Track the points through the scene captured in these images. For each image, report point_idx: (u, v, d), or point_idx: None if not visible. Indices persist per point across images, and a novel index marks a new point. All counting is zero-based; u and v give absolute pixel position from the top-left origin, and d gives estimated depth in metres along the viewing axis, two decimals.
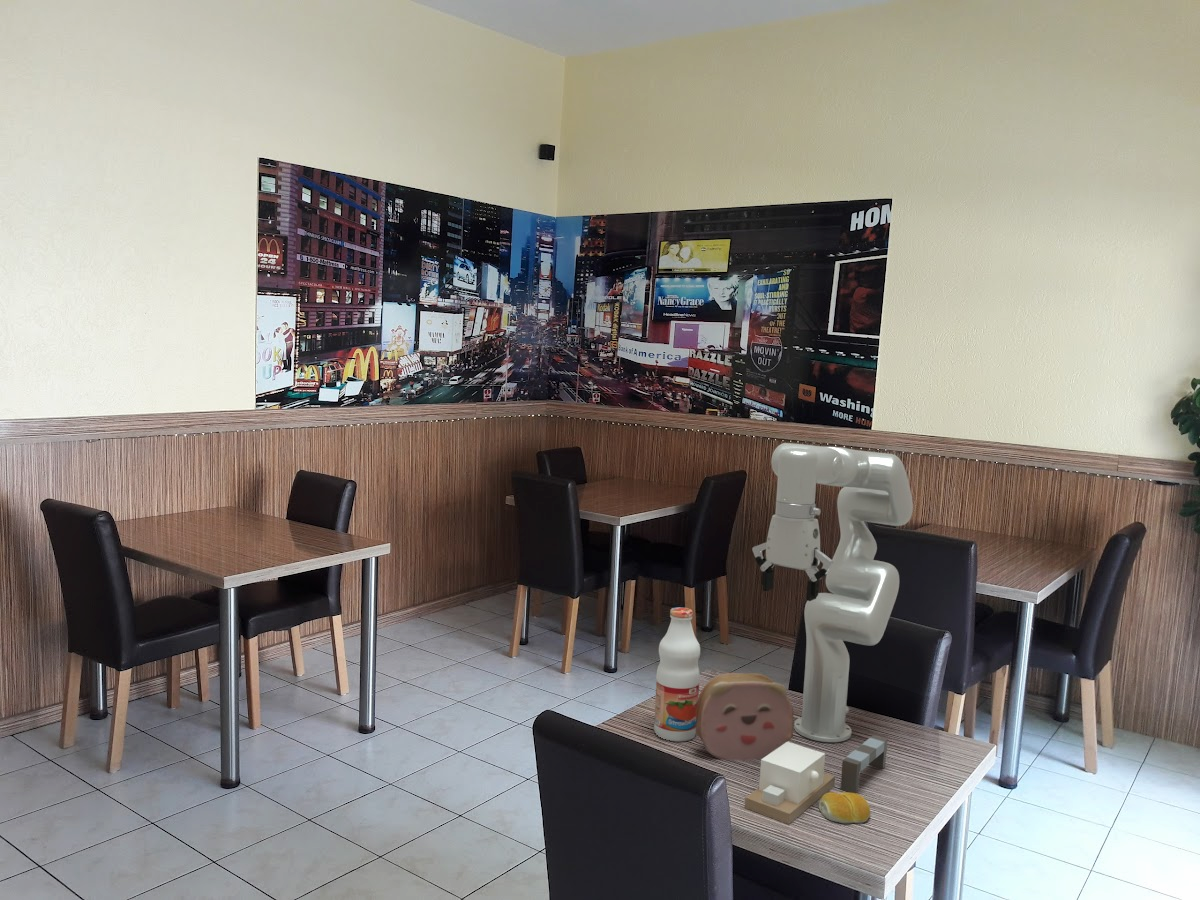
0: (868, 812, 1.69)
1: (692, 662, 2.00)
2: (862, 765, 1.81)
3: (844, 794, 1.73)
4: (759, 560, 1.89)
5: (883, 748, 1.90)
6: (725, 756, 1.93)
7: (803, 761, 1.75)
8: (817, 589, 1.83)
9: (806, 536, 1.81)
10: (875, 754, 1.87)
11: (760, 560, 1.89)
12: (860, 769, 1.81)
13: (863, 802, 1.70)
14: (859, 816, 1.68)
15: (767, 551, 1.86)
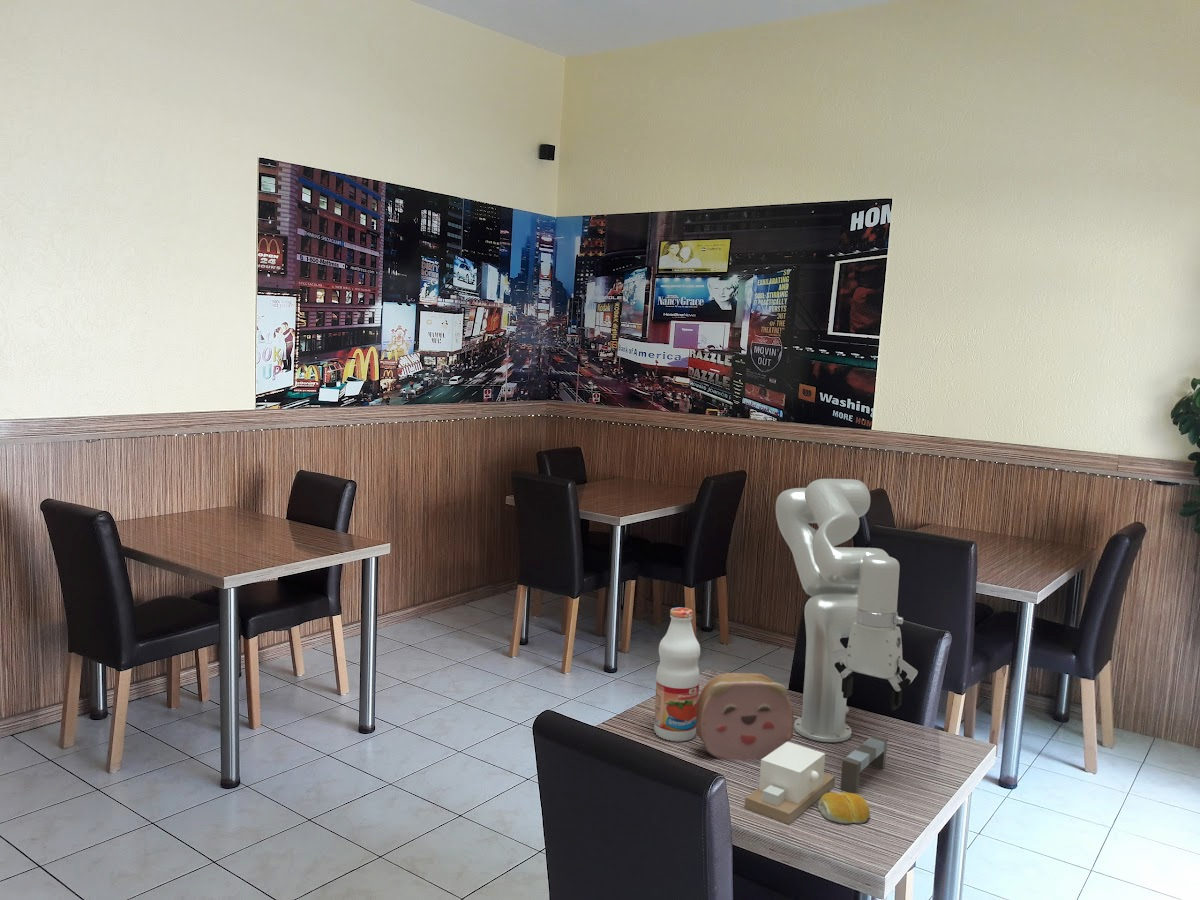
0: (867, 812, 1.69)
1: (692, 662, 2.00)
2: (862, 765, 1.81)
3: (844, 794, 1.73)
4: (838, 666, 1.88)
5: (883, 748, 1.90)
6: (725, 756, 1.93)
7: (803, 761, 1.75)
8: (900, 698, 1.81)
9: (890, 646, 1.80)
10: (875, 754, 1.87)
11: (839, 666, 1.88)
12: (860, 769, 1.81)
13: (862, 803, 1.70)
14: (858, 816, 1.68)
15: (848, 658, 1.85)
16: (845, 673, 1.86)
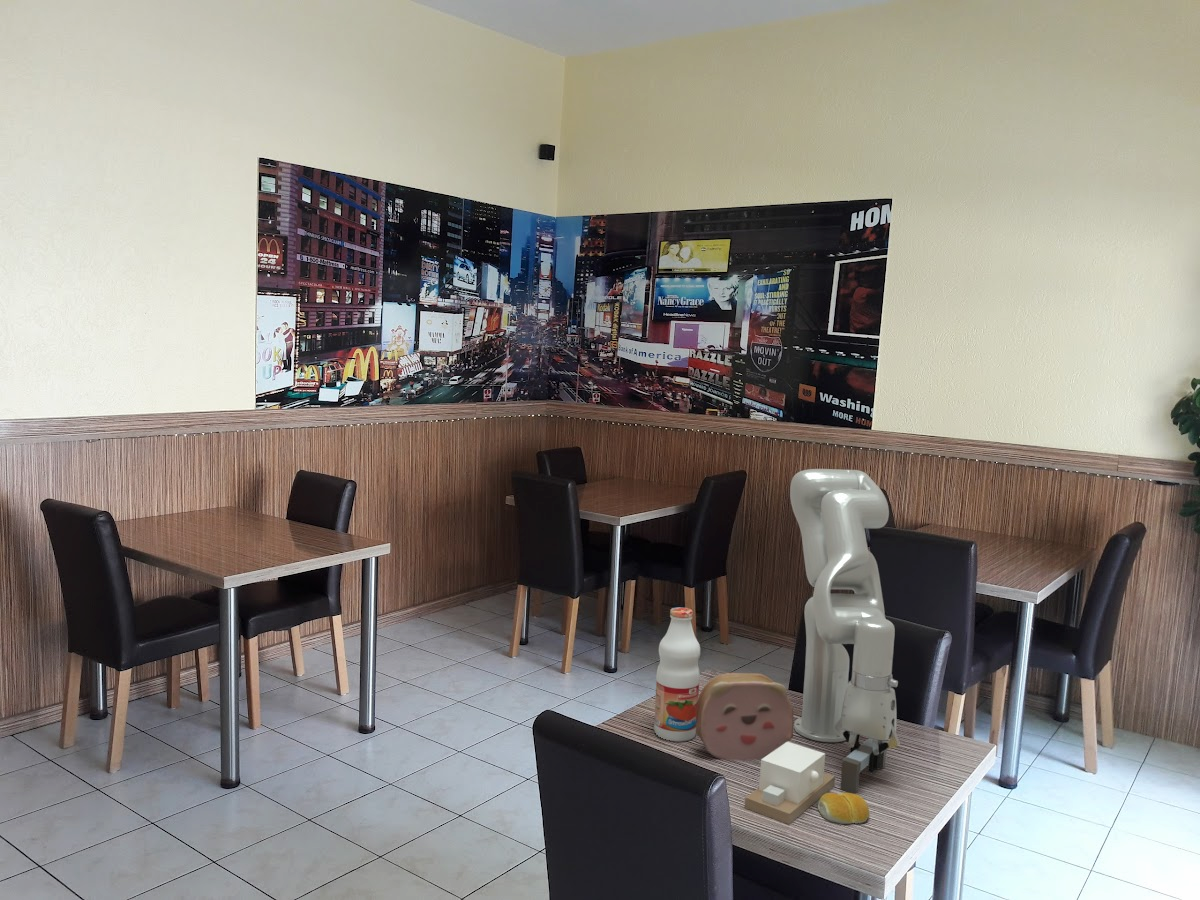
0: (867, 813, 1.69)
1: (692, 662, 2.00)
2: (862, 765, 1.81)
3: (843, 794, 1.73)
4: (847, 735, 1.88)
5: None
6: (725, 756, 1.93)
7: (803, 761, 1.75)
8: (879, 761, 1.85)
9: (884, 709, 1.81)
10: None
11: (848, 735, 1.88)
12: (860, 769, 1.81)
13: (862, 803, 1.70)
14: (858, 816, 1.68)
15: (842, 718, 1.87)
16: (853, 743, 1.86)
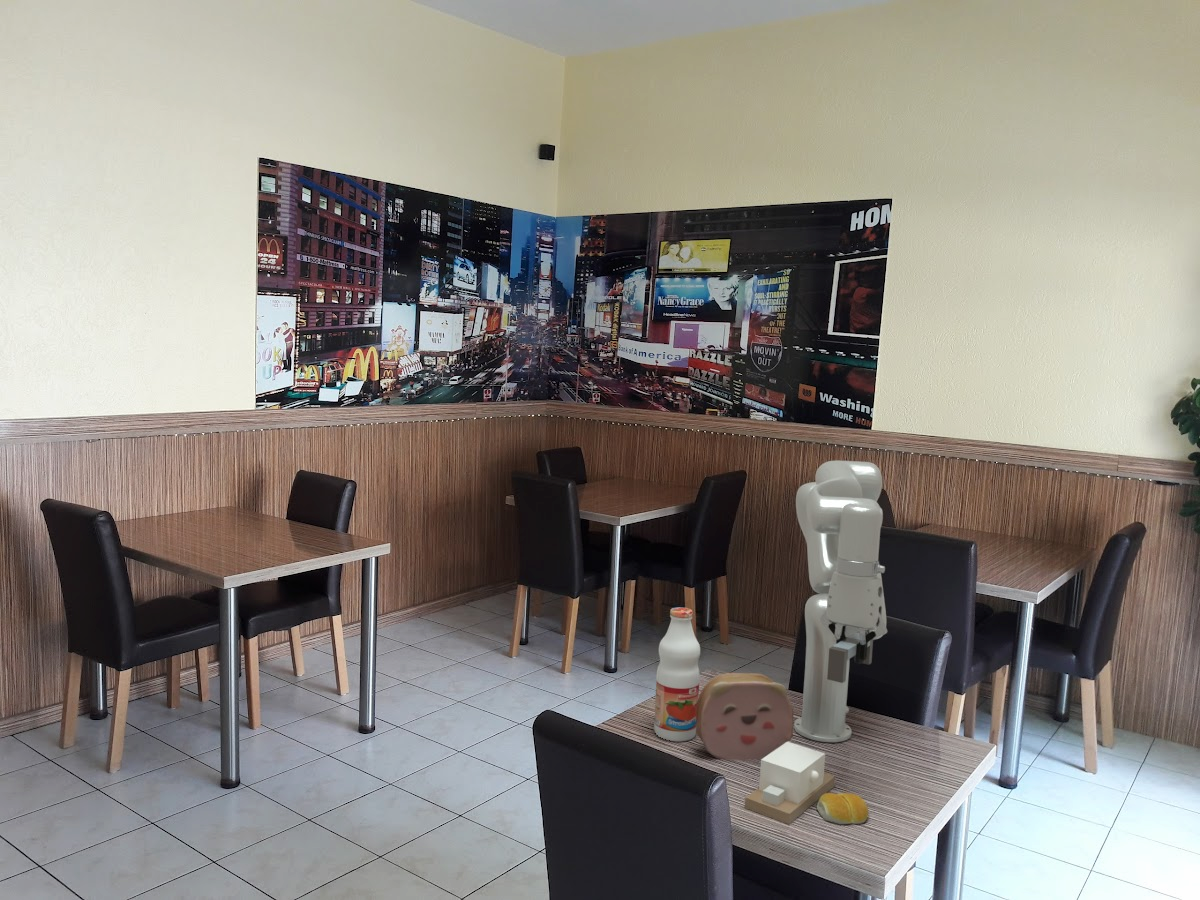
0: (866, 813, 1.69)
1: (692, 662, 2.00)
2: (849, 654, 1.76)
3: (842, 795, 1.73)
4: (833, 627, 1.82)
5: (869, 642, 1.85)
6: (725, 756, 1.93)
7: (803, 761, 1.75)
8: (866, 652, 1.79)
9: (871, 595, 1.76)
10: None
11: (834, 627, 1.82)
12: (847, 658, 1.75)
13: (861, 803, 1.70)
14: (857, 816, 1.68)
15: (828, 609, 1.81)
16: (839, 634, 1.80)
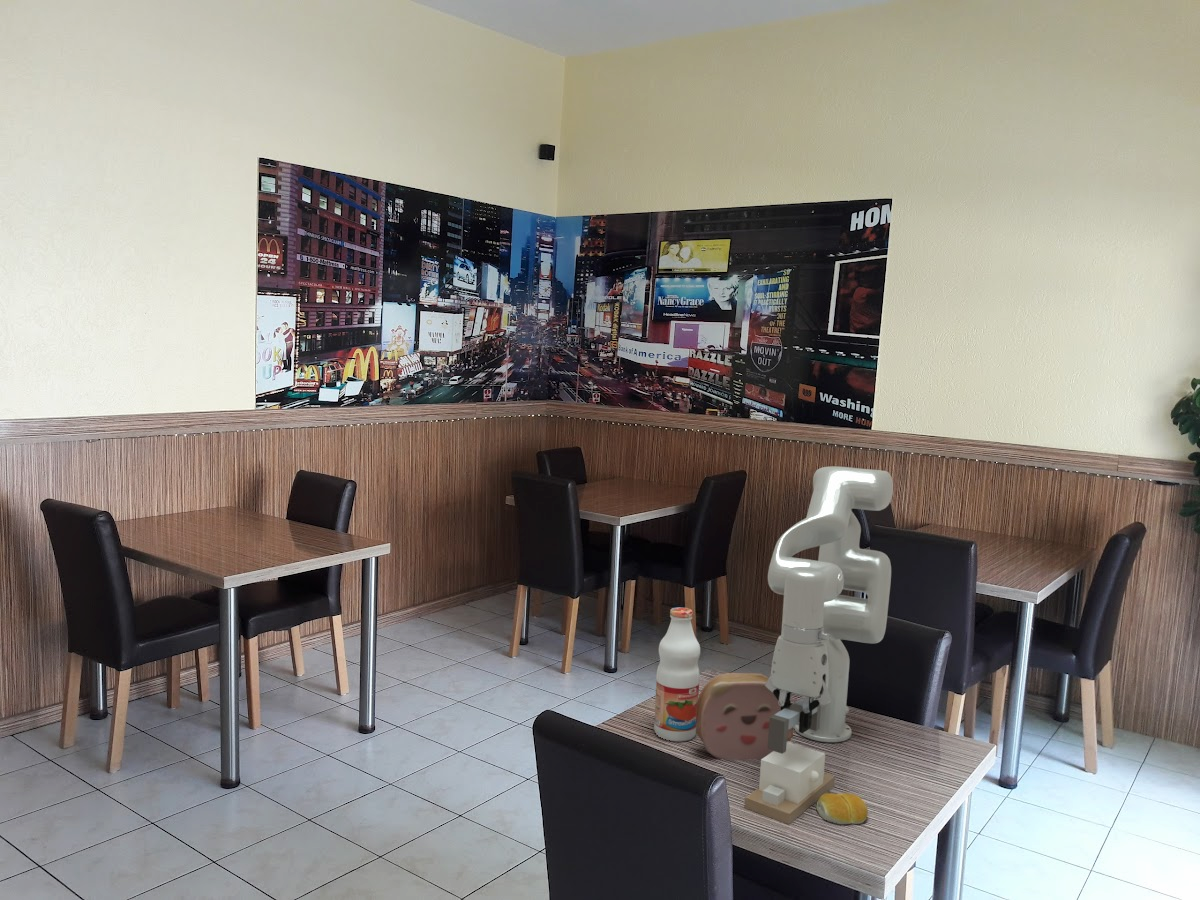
0: (866, 813, 1.69)
1: (692, 662, 2.00)
2: (791, 723, 1.71)
3: (842, 795, 1.73)
4: (777, 693, 1.77)
5: (816, 708, 1.79)
6: (725, 756, 1.93)
7: (803, 761, 1.75)
8: (810, 720, 1.74)
9: (814, 663, 1.71)
10: None
11: (778, 693, 1.77)
12: (787, 728, 1.70)
13: (860, 803, 1.70)
14: (856, 817, 1.68)
15: (772, 675, 1.76)
16: (784, 701, 1.76)
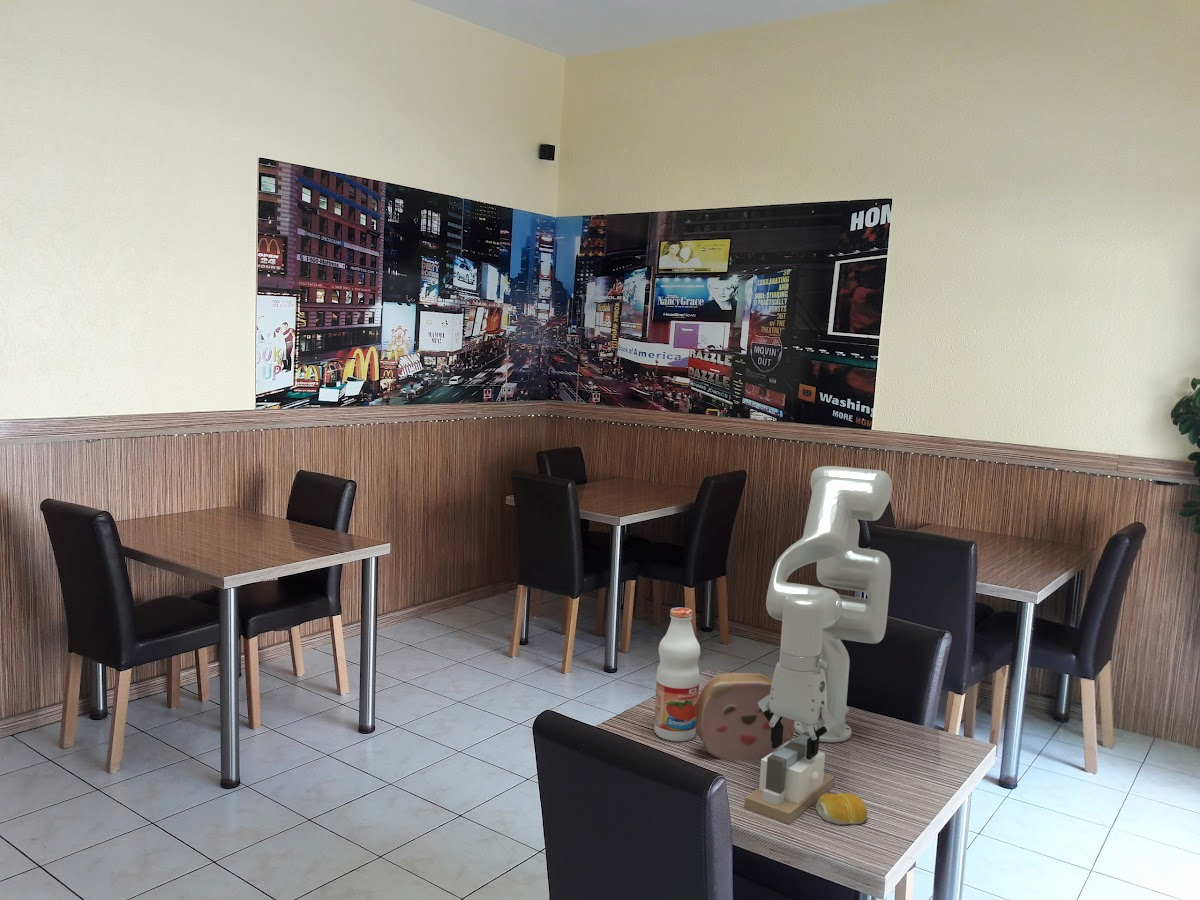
0: (865, 813, 1.69)
1: (692, 662, 2.00)
2: (788, 763, 1.72)
3: (841, 795, 1.73)
4: (768, 714, 1.79)
5: None
6: (725, 756, 1.93)
7: (803, 761, 1.75)
8: (817, 747, 1.74)
9: (813, 691, 1.71)
10: (804, 751, 1.77)
11: (769, 715, 1.79)
12: (785, 768, 1.71)
13: (860, 804, 1.70)
14: (856, 817, 1.68)
15: (771, 701, 1.77)
16: (774, 722, 1.77)
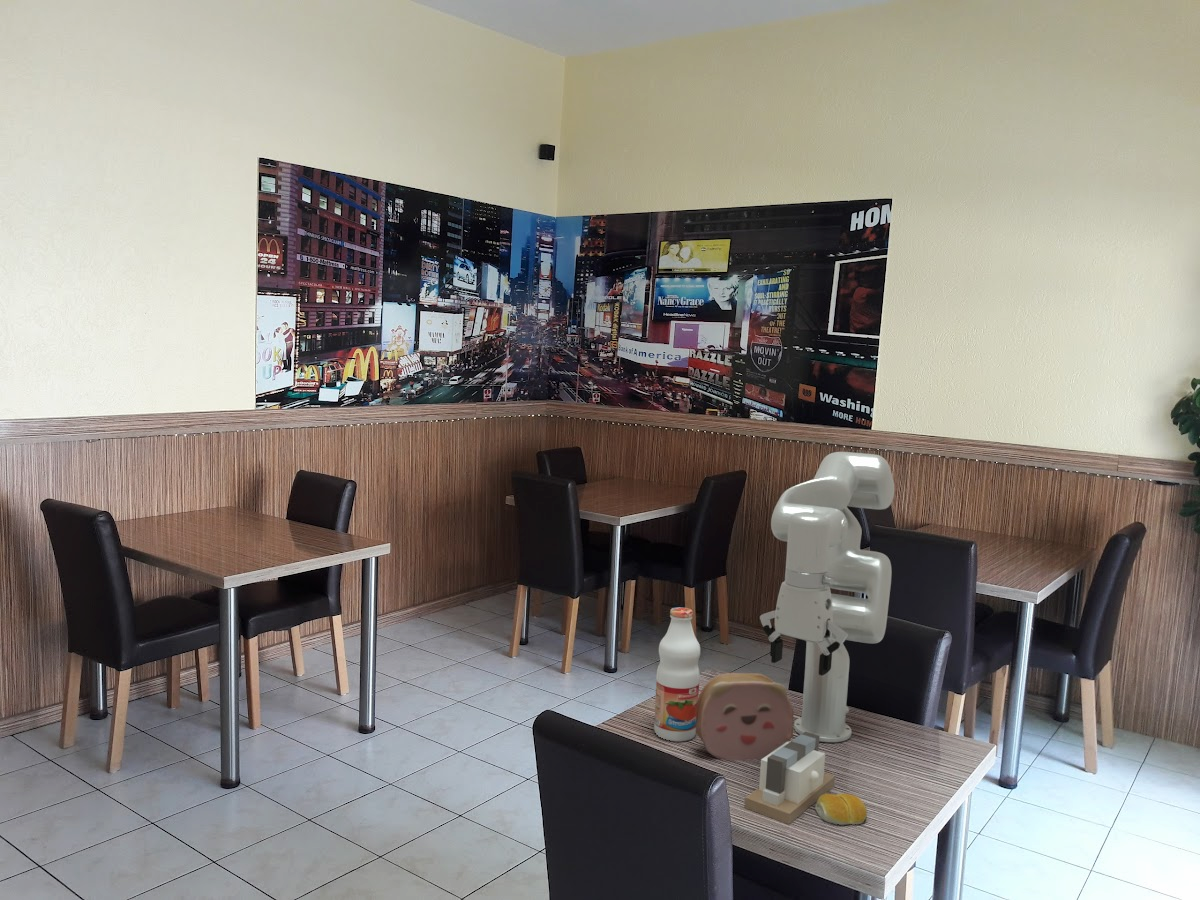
0: (864, 814, 1.69)
1: (692, 662, 2.00)
2: (788, 763, 1.72)
3: (841, 795, 1.72)
4: (767, 629, 1.78)
5: (814, 745, 1.81)
6: (725, 756, 1.93)
7: (803, 761, 1.75)
8: (830, 663, 1.72)
9: (818, 608, 1.70)
10: (804, 751, 1.77)
11: (768, 629, 1.78)
12: (785, 768, 1.71)
13: (859, 804, 1.69)
14: (855, 817, 1.68)
15: (776, 621, 1.75)
16: (774, 636, 1.76)
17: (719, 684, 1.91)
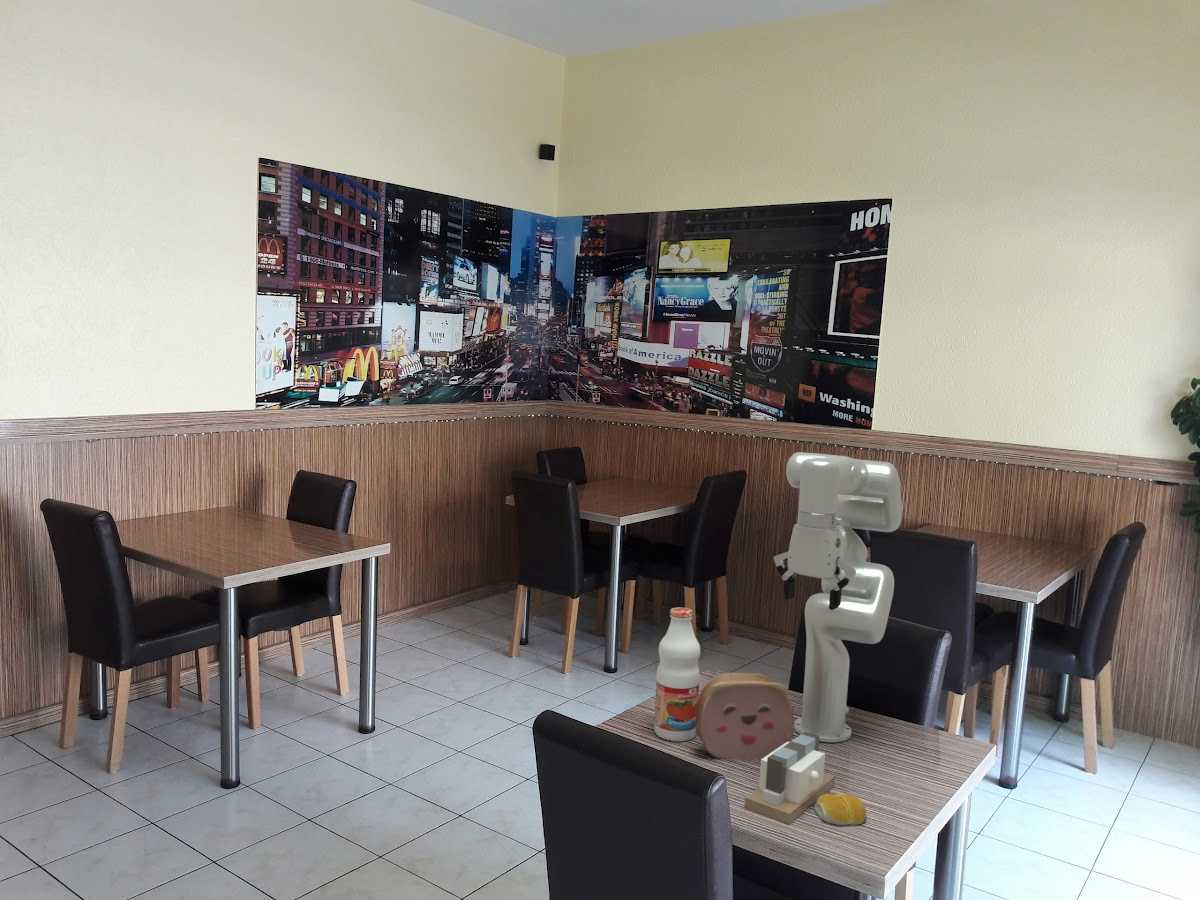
0: (864, 814, 1.69)
1: (692, 662, 2.00)
2: (788, 763, 1.72)
3: (840, 796, 1.72)
4: (781, 569, 1.90)
5: (814, 745, 1.81)
6: (725, 756, 1.93)
7: (803, 761, 1.75)
8: (839, 598, 1.84)
9: (829, 546, 1.82)
10: (804, 751, 1.77)
11: (782, 569, 1.90)
12: (785, 768, 1.71)
13: (859, 804, 1.69)
14: (855, 817, 1.68)
15: (789, 560, 1.87)
16: (787, 575, 1.89)
17: (719, 684, 1.91)
